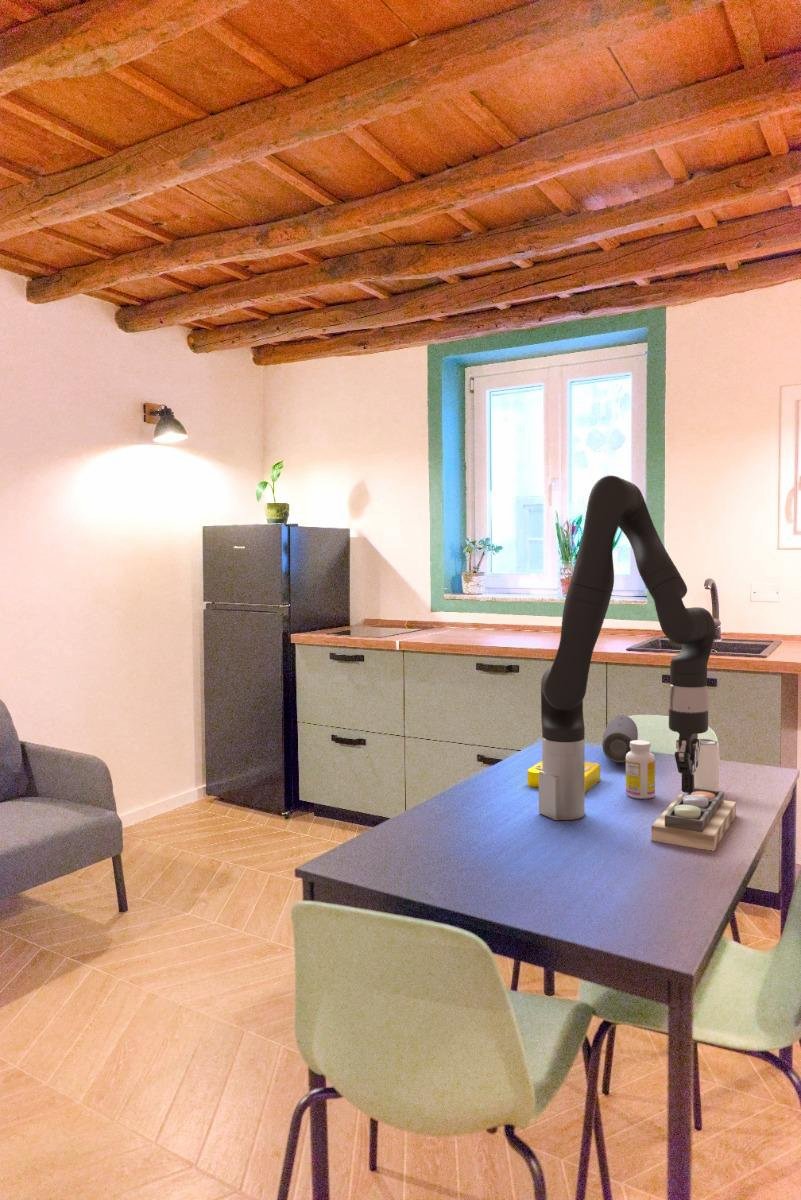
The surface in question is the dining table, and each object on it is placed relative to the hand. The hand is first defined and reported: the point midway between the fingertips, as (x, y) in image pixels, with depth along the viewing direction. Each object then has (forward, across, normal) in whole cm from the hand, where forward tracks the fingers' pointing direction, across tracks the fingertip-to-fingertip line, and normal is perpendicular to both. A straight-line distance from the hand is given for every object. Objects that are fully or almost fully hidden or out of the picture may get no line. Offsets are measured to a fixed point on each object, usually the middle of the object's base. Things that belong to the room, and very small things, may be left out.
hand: (688, 791), depth 166 cm
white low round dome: (+5, +7, 0) cm, 9 cm away
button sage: (+5, 0, 0) cm, 5 cm away
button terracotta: (+7, +15, 0) cm, 16 cm away
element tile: (+10, +26, +36) cm, 45 cm away
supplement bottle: (+10, +24, +16) cm, 30 cm away
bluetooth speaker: (+10, +56, +30) cm, 65 cm away
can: (+10, +35, +4) cm, 36 cm away
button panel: (+10, +7, 0) cm, 12 cm away
